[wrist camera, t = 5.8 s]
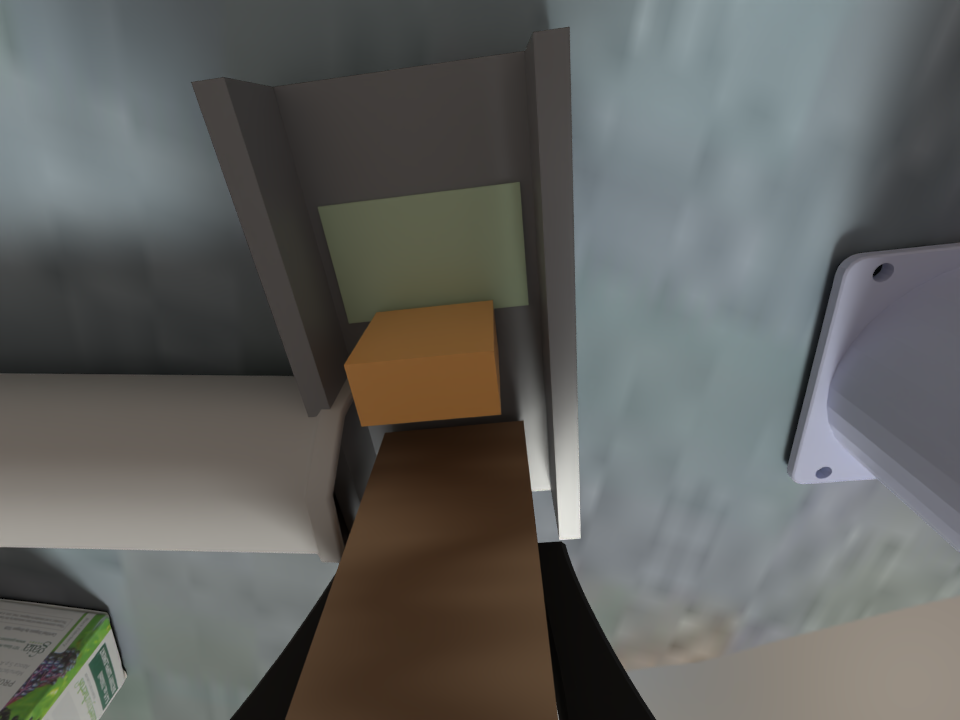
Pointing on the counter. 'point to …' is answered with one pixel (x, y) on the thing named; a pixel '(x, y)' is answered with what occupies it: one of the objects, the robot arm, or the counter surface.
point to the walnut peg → (437, 589)
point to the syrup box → (56, 662)
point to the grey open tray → (417, 230)
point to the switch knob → (427, 365)
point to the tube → (169, 464)
